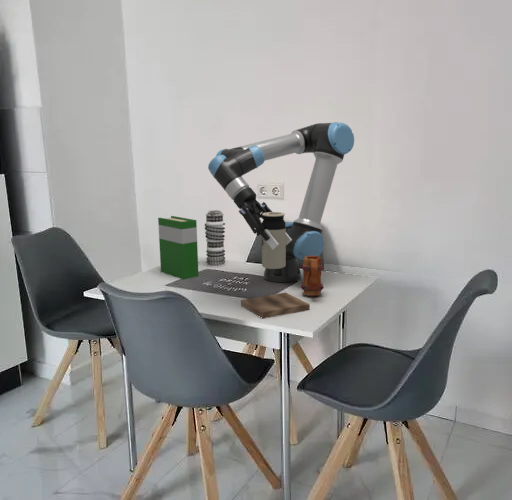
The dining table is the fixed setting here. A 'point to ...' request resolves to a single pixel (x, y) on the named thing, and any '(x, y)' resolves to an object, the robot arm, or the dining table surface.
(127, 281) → the dining table surface
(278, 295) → the walnut board
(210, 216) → the decorative candle
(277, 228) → the travel mug
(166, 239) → the hardback book
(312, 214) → the robot arm
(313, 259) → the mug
